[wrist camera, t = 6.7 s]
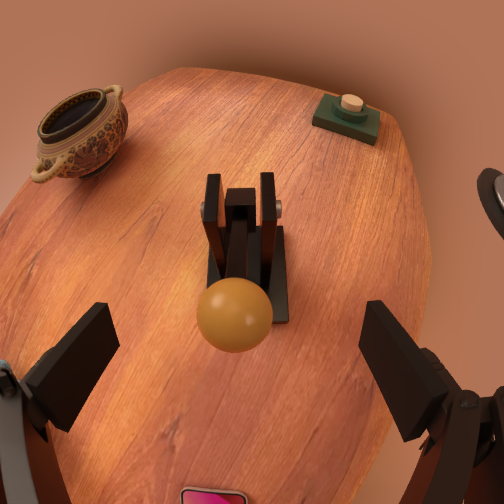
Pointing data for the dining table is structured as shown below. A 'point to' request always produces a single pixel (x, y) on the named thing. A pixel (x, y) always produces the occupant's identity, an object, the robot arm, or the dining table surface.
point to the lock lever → (236, 286)
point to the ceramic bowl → (81, 135)
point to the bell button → (351, 103)
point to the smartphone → (211, 496)
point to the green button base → (347, 119)
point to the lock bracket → (250, 243)
